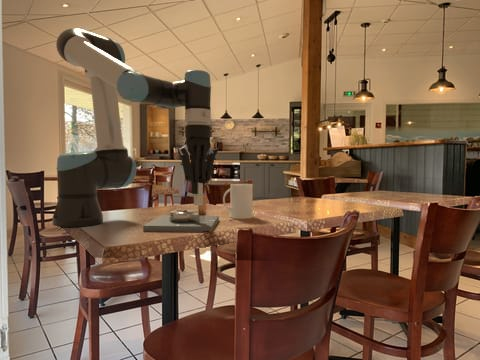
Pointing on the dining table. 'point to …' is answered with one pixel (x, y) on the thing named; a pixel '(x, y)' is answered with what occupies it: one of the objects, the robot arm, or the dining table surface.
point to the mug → (240, 201)
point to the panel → (181, 224)
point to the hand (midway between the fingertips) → (198, 205)
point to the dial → (189, 214)
